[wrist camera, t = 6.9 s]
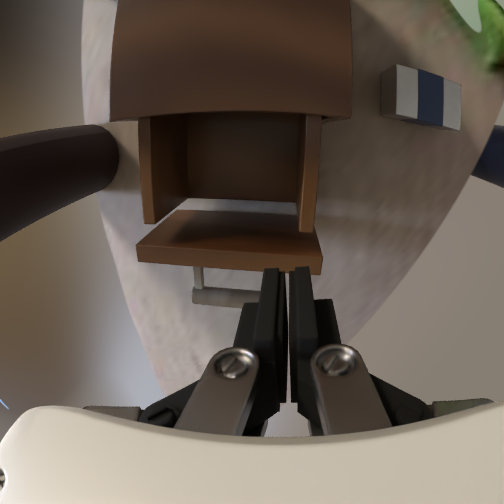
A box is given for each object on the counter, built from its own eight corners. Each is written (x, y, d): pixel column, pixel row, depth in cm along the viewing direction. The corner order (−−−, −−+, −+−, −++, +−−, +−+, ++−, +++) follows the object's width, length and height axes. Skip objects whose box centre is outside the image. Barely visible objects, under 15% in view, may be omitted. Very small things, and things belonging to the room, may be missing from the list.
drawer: (304, 279, 25) (310, 336, 18) (181, 270, 26) (149, 319, 19) (319, 66, 18) (337, 36, 11) (175, 68, 19) (128, 47, 12)
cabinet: (324, 123, 20) (351, 118, 12) (171, 121, 22) (108, 122, 13) (323, -24, 14) (338, -84, 6) (180, -19, 16) (134, -67, 7)
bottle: (86, 202, 25) (-71, 303, 7) (61, 148, 23) (-104, 209, 5) (131, 170, 24) (-65, 270, 6) (103, 110, 21) (-96, 143, 3)
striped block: (440, 87, 17) (461, 84, 14) (439, 130, 19) (460, 132, 16) (380, 70, 18) (396, 62, 15) (380, 116, 20) (395, 114, 16)
